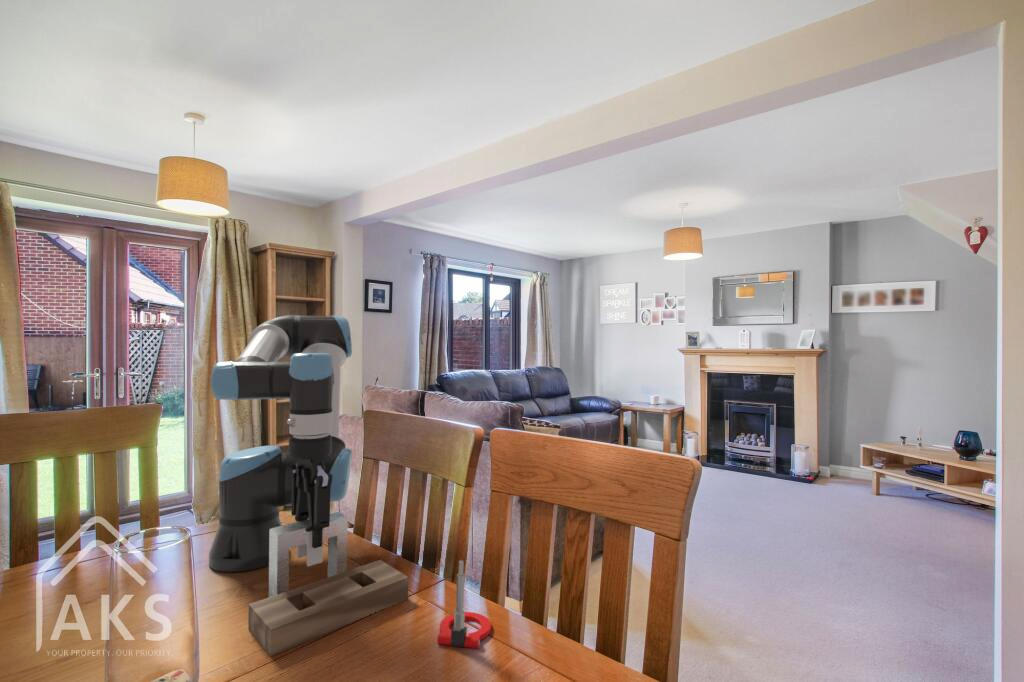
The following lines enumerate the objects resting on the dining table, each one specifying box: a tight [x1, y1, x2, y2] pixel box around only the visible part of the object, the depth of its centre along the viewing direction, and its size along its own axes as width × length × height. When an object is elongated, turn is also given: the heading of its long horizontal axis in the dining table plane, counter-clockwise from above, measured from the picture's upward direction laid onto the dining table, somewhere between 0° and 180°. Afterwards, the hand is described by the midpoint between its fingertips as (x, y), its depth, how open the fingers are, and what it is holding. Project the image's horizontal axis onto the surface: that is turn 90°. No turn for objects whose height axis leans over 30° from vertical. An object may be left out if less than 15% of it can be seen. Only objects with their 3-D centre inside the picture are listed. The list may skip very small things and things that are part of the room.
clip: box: [268, 511, 348, 598], centre depth 93 cm, size 4×13×13 cm, turn 135°
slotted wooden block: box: [247, 559, 409, 657], centre depth 86 cm, size 10×24×4 cm, turn 135°
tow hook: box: [436, 560, 492, 649], centre depth 81 cm, size 8×13×9 cm
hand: (309, 559), depth 93 cm, fingers closed on clip, 4 cm apart
